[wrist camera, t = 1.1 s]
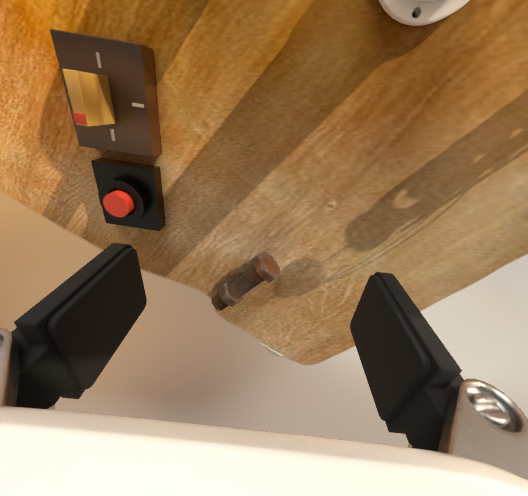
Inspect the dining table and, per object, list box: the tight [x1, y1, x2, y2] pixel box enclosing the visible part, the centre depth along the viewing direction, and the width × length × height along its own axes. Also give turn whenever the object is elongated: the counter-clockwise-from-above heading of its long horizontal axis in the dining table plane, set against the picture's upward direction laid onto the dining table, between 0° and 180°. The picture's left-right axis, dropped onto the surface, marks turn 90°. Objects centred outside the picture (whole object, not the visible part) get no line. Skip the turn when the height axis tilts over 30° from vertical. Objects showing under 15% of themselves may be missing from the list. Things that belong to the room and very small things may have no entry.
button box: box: [91, 158, 165, 231], centre depth 36 cm, size 10×9×4 cm
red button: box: [103, 190, 135, 217], centre depth 34 cm, size 4×4×2 cm
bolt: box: [212, 252, 280, 311], centre depth 44 cm, size 6×5×15 cm
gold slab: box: [63, 69, 116, 126], centre depth 27 cm, size 5×1×5 cm, turn 172°
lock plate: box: [50, 29, 162, 157], centre depth 30 cm, size 12×10×3 cm
